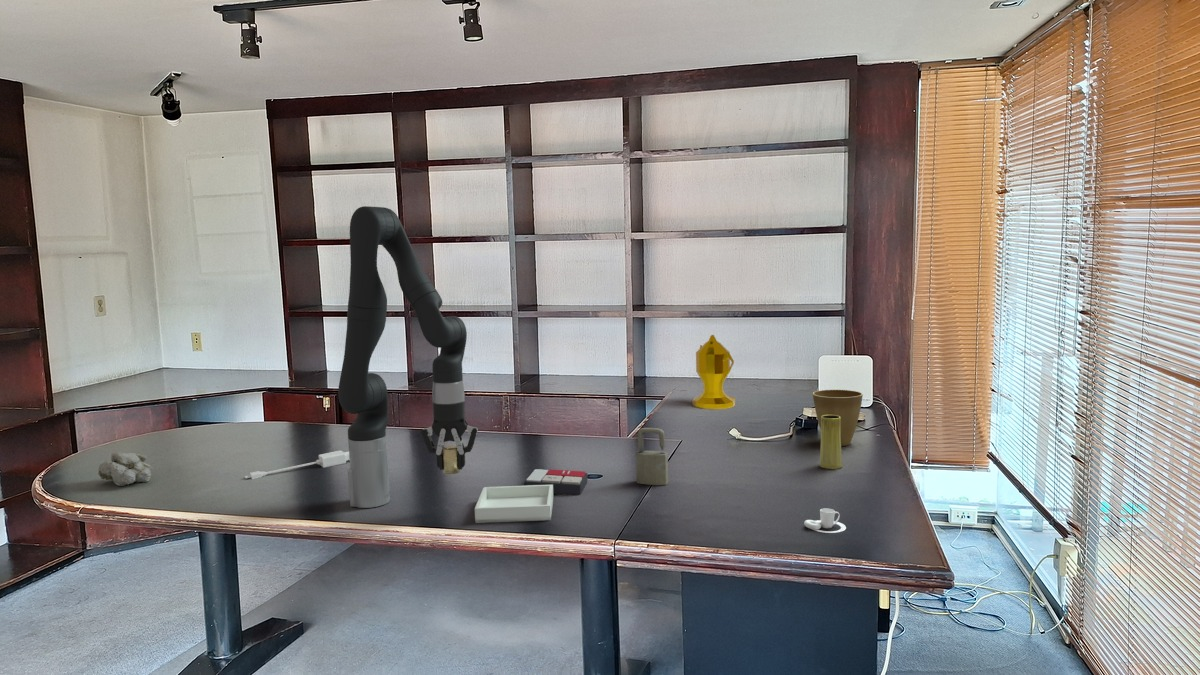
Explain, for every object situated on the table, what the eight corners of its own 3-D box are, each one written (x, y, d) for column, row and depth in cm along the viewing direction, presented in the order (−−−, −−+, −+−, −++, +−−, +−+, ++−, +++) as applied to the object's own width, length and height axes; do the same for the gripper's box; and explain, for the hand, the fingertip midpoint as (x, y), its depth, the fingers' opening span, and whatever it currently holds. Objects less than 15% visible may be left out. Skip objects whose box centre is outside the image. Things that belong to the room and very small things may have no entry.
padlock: (665, 486, 205) (664, 430, 204) (635, 483, 208) (634, 429, 206) (669, 481, 209) (667, 427, 207) (640, 479, 212) (638, 425, 210)
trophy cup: (716, 397, 324) (715, 330, 321) (750, 407, 302) (750, 335, 299) (680, 401, 317) (678, 333, 314) (712, 412, 295) (711, 339, 292)
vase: (846, 465, 218) (846, 415, 217) (835, 470, 214) (836, 419, 212) (825, 462, 222) (825, 413, 221) (815, 467, 218) (815, 417, 216)
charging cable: (244, 481, 227) (242, 470, 227) (355, 457, 245) (354, 447, 244) (247, 485, 223) (245, 473, 223) (359, 460, 240) (358, 450, 240)
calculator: (580, 482, 200) (523, 478, 202) (580, 498, 200) (523, 494, 203) (587, 470, 211) (534, 466, 213) (587, 485, 211) (533, 482, 213)
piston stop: (441, 474, 187) (440, 450, 186) (444, 469, 191) (443, 445, 190) (458, 474, 187) (457, 449, 186) (461, 469, 191) (460, 445, 190)
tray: (475, 523, 182) (474, 508, 181) (484, 500, 198) (483, 487, 198) (550, 520, 182) (550, 505, 181) (553, 497, 198) (552, 484, 198)
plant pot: (872, 443, 241) (872, 393, 239) (841, 451, 233) (841, 399, 231) (833, 435, 253) (833, 386, 252) (802, 442, 245) (802, 392, 243)
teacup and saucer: (802, 532, 170) (802, 514, 170) (807, 520, 177) (807, 503, 177) (844, 536, 167) (844, 518, 166) (847, 524, 174) (847, 506, 174)
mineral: (122, 485, 214) (137, 450, 217) (80, 477, 220) (94, 443, 224) (159, 494, 225) (172, 461, 228) (117, 486, 231) (130, 454, 234)
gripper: (415, 403, 183) (418, 474, 185) (476, 402, 183) (478, 472, 185) (422, 397, 190) (425, 465, 192) (480, 395, 190) (482, 464, 193)
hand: (451, 468), depth 189 cm, fingers closed on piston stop, 4 cm apart
